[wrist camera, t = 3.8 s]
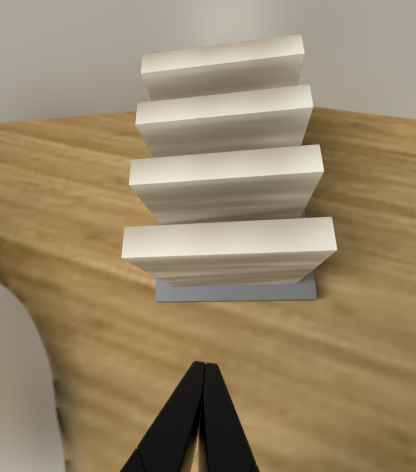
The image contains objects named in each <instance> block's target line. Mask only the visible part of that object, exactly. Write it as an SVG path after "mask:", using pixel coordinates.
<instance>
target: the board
mask: <svg viewBox="0 0 416 472" xmlns="http://www.w3.org/2000/svg"><path fill="white" fill-rule="evenodd" d="M300 218H306V211H305V209H304V211H303V213H302V215H301V217H300ZM160 225H161V224H160ZM316 299H317V294H316V286H315V278H314V271H313V270H312V271H311V272H310V273H309V274H307V275H306V276H305V277H304V278H302V279H301V280H300V281H299V282H297V283H296V284H271V285H225V286H179V287H173V286H171V285H169V284H167V283H166V282H164V281H162V280H160V279H158V278H157V277H156V291H155V302H226V301H295V300H316Z"/></svg>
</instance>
